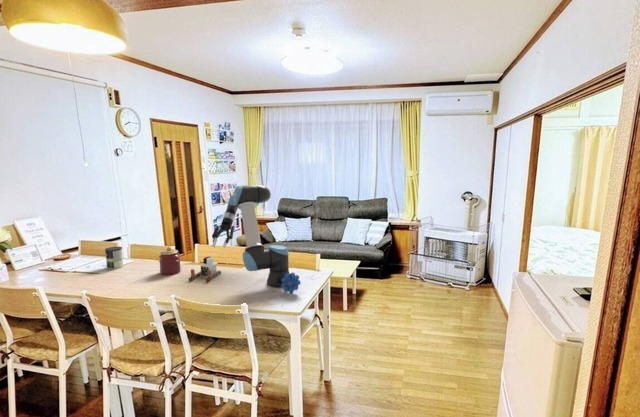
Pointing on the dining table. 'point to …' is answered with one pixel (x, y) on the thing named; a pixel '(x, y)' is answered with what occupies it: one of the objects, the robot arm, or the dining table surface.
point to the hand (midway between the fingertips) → (218, 246)
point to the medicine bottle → (208, 266)
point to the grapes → (290, 282)
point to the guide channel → (194, 276)
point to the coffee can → (114, 257)
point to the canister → (169, 262)
